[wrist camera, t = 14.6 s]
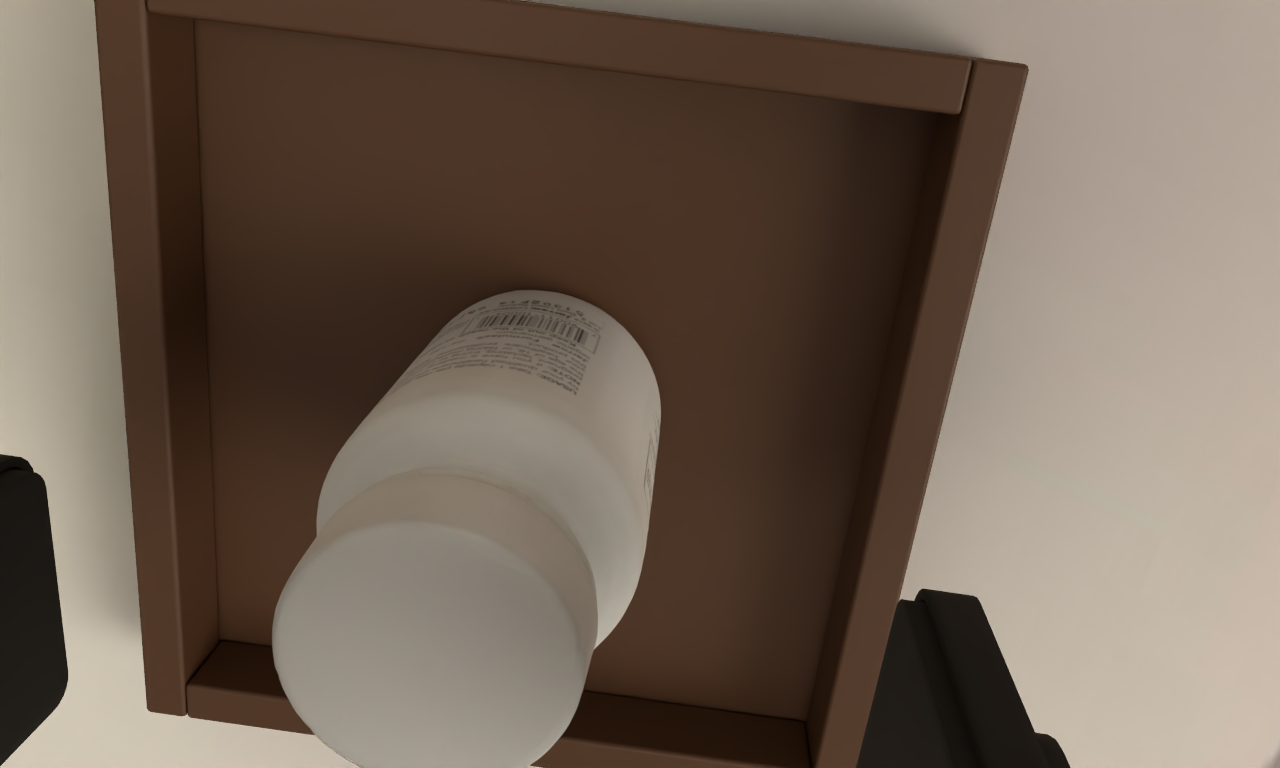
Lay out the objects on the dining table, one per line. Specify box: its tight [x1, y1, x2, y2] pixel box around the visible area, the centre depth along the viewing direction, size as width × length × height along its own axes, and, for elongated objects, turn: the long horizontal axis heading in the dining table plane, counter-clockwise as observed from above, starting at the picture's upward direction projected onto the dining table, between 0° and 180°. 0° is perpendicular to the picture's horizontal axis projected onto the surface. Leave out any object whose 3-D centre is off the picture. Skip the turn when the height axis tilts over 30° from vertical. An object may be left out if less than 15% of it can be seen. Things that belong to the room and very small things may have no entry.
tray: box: [94, 0, 1029, 768], centre depth 17 cm, size 14×14×2 cm
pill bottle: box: [272, 290, 661, 768], centre depth 14 cm, size 4×4×8 cm
